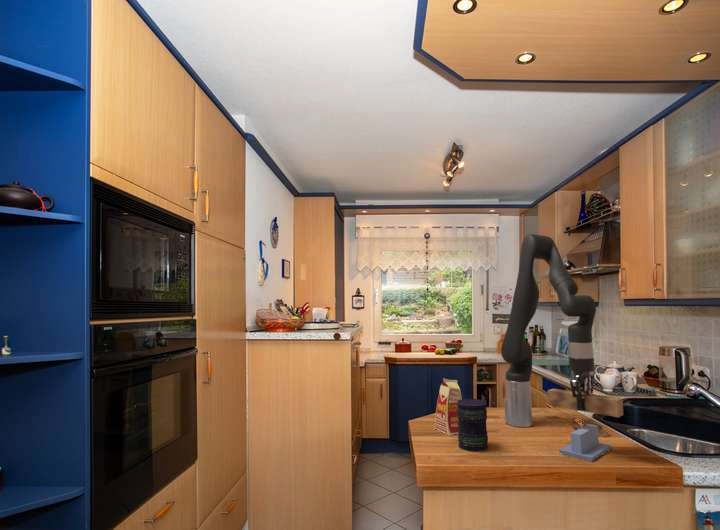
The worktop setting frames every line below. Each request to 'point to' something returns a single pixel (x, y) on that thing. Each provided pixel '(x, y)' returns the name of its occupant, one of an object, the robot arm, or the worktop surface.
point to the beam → (586, 402)
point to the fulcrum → (585, 444)
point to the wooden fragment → (600, 432)
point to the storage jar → (472, 425)
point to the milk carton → (448, 407)
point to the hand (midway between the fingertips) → (583, 408)
